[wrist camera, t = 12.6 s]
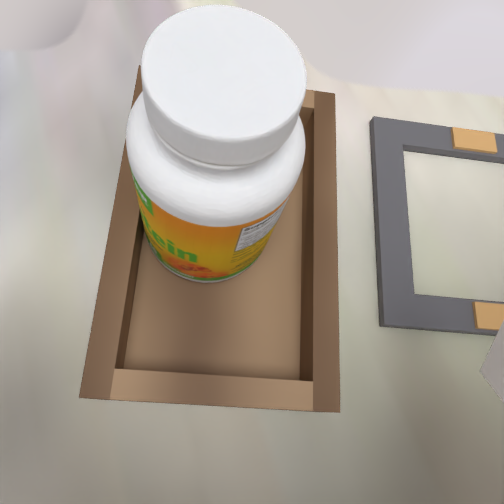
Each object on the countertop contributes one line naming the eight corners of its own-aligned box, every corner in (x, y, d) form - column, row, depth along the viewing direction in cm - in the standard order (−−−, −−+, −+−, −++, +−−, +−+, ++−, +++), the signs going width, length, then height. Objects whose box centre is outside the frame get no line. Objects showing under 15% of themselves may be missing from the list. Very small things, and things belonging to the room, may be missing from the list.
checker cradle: (555, 147, 25) (566, 140, 24) (599, 344, 21) (612, 342, 20) (369, 122, 23) (375, 113, 23) (379, 326, 19) (386, 323, 19)
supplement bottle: (118, 221, 19) (55, 47, 10) (210, 152, 21) (229, -48, 11) (203, 311, 18) (221, 213, 9) (291, 232, 20) (380, 83, 11)
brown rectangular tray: (319, 127, 23) (334, 93, 20) (319, 411, 18) (340, 412, 15) (144, 103, 22) (138, 65, 19) (94, 399, 17) (79, 397, 14)
